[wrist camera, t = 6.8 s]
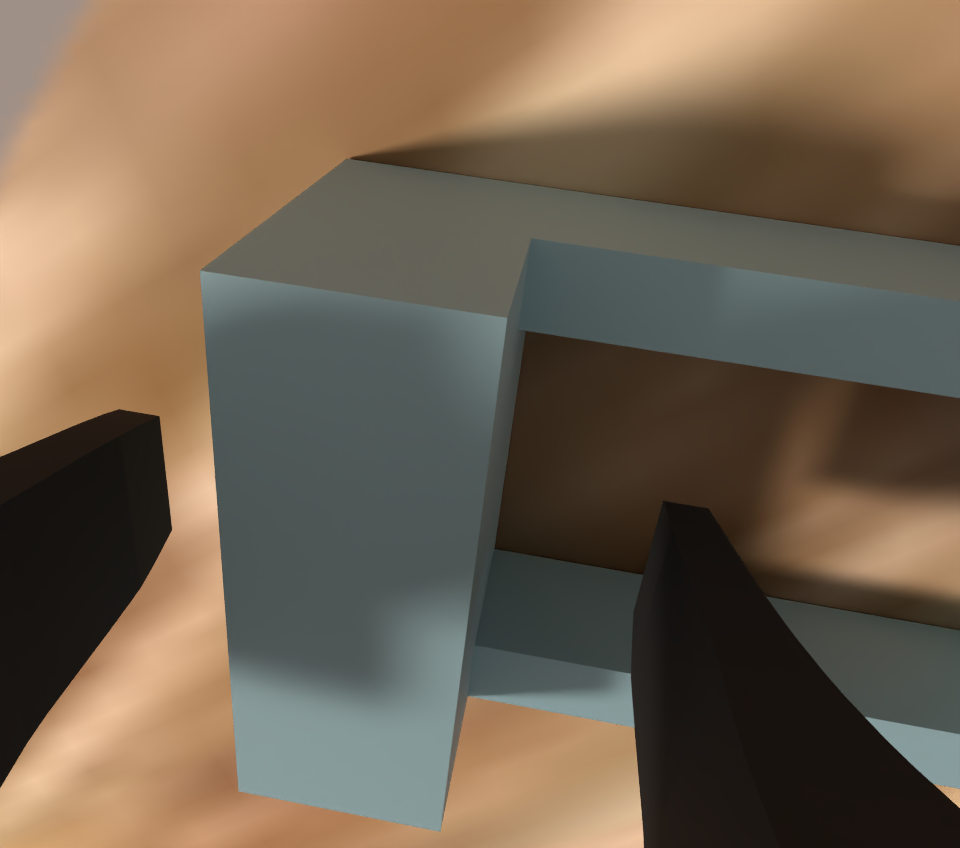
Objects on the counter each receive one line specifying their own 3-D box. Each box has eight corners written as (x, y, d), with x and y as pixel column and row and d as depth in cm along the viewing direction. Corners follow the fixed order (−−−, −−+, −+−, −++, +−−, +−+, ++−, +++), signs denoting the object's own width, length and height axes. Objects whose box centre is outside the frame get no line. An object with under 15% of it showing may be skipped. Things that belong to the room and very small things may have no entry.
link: (1291, 292, 11) (1708, 503, 7) (1030, 694, 15) (1192, 982, 11) (346, 158, 12) (199, 271, 8) (338, 569, 16) (238, 791, 12)
